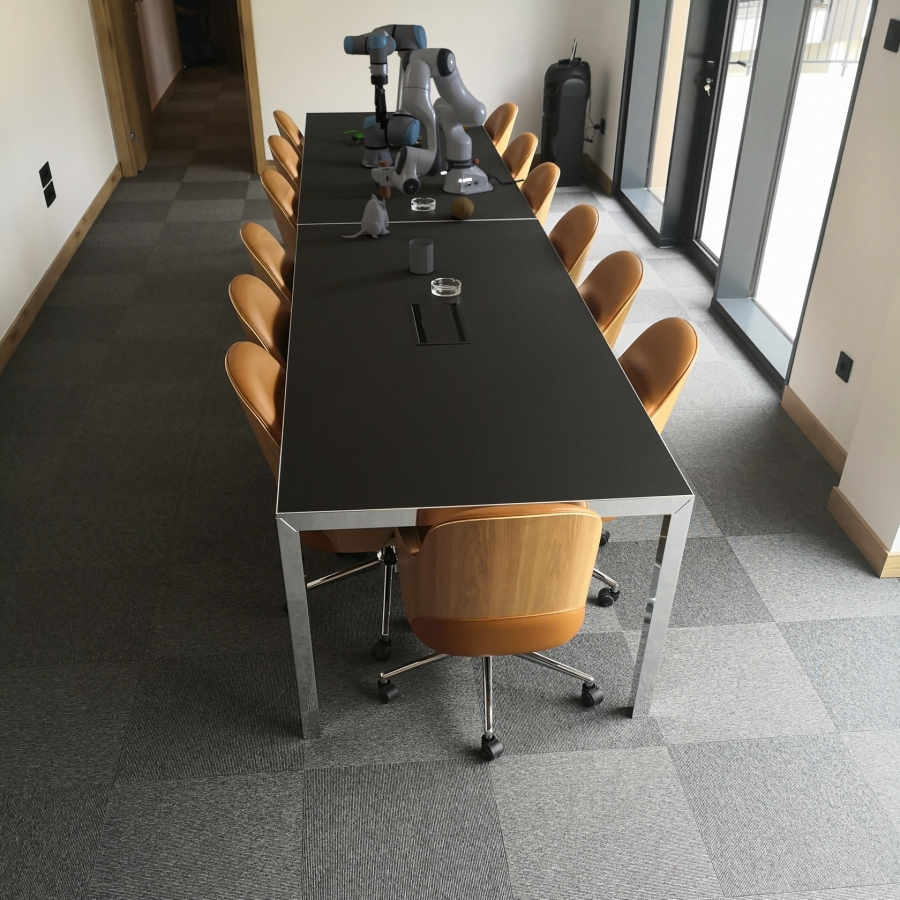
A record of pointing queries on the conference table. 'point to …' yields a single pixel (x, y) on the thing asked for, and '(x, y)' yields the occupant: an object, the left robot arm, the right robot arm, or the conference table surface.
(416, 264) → the cup
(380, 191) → the jar
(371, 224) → the toy
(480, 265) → the conference table surface
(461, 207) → the potato
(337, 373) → the conference table surface
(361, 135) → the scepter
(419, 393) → the conference table surface
